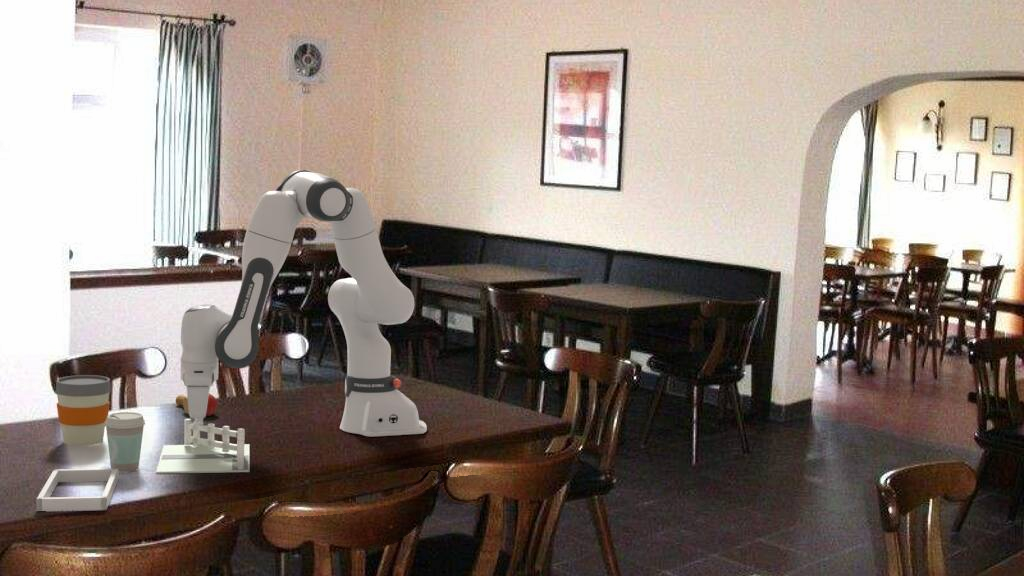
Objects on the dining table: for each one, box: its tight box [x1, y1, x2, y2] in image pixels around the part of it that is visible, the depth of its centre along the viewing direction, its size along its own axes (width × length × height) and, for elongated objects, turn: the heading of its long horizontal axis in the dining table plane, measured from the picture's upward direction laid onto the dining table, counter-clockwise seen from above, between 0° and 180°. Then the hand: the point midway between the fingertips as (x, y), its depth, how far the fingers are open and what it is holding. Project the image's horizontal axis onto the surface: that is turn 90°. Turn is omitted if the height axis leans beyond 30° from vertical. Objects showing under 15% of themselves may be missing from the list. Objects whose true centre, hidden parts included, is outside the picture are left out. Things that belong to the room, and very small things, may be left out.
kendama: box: [175, 392, 218, 417], centre depth 329 cm, size 8×6×18 cm
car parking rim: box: [35, 468, 119, 512], centre depth 249 cm, size 13×22×2 cm, turn 12°
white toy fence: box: [183, 418, 246, 452], centre depth 286 cm, size 18×2×6 cm, turn 62°
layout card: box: [155, 443, 250, 475], centre depth 281 cm, size 20×24×1 cm
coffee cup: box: [105, 411, 146, 473], centre depth 269 cm, size 8×8×12 cm
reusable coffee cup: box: [55, 374, 112, 447], centre depth 292 cm, size 13×13×15 cm
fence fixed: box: [236, 429, 246, 470], centre depth 276 cm, size 11×2×6 cm, turn 12°
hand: (198, 428), depth 294 cm, fingers closed
